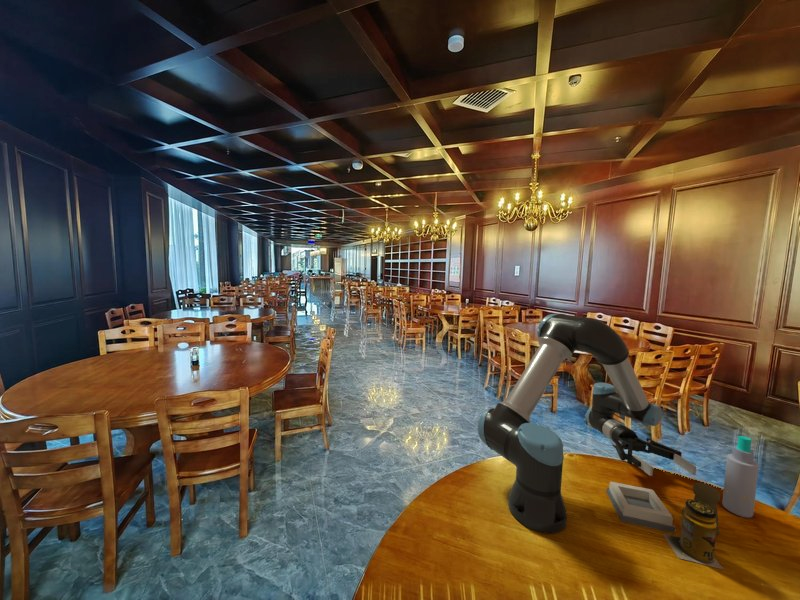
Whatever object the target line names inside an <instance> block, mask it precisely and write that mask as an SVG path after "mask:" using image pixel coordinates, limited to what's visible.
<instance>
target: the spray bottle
mask: <svg viewBox="0 0 800 600" xmlns="http://www.w3.org/2000/svg"><path fill="white" fill-rule="evenodd" d="M736 443H737V445H734V446H733V449H732V453H728V454H727V455H726V462H725V463H726V464H725V472H724V482H723V491H722V502H721V505H722V507H723V508H725V509H726V510H727V511H729V512H730V513H732V514H734V515H737V516H740V517H741V518H748V519H749V518H752V517H754V514H755V501H756V494H757V493H756V492H757V484H758V476H759V468H760V467H759V464H758V462H757V461H755V460H754V458H755V457H754V456H755V453H754V451H753V450H752V438H750V437H748V436H745V435H738V437H737V442H736ZM727 491H729V492H727ZM742 496H744V497H746V498H744V497H742ZM749 499H751V500H749ZM752 500H754V501H752Z"/></svg>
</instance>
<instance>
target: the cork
mask: <svg viewBox="0 0 800 600" xmlns="http://www.w3.org/2000/svg"><path fill="white" fill-rule="evenodd" d="M692 491H693V494H694V497H693V500H697V501H700V502H702V503H705V504H707V505H708V506H710V507H711V508H712V509H713V510H714V511H715V513H716V517H715V519H716V521H715V522H716V524H717V531H716V535H718V534H719V533H720V525H719V515H718V514H719V513H718V505H717V503H719V502H720V500H721V494H720V492H719V491H718V489H717V488H715V487H713V486H711V485H709V484H708V483H703V482H696V483H694V485H693V487H692Z"/></svg>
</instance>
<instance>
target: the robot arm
mask: <svg viewBox="0 0 800 600" xmlns="http://www.w3.org/2000/svg"><path fill="white" fill-rule="evenodd" d="M537 329H538V330H536V331H537V337H538V339H537V342H538V345H539V346H538V348H537V349H536V350H535V352H534V354H533V356H532V357H531V359H530V360H529V362H528V364H527V365H526V367H525V369H524V370H523V372H522V373H521V375H520V377H519V379H518V380H517V381H516V382H515V385H514V386H513V388H512V389H511V391H510V393H509V395H508V396H507V398H505V400H504V401H499V402H498V403H497V404H496V405H495V407H489V408H487V409H485V410H483V412H481V414H480V416H479V419H478V423H477V434H478V437H479V439H480V440H481V442H482V443H483V444H484V445H486V446H487V447H488V448H489V449H490V450H493V451H494V452H496V453H497V454H498V455H499V456H501V457H503V459H506V461H508V462H510V463H511V464H513V465H514V466H515V468H516V469H515V470H516V472H515V481H514V482H513V484H512V487H511V489H510V491H509V492H508V493H509V494H508V498H507V499H508V500H507V501H508V504H507V506H508V509H509V511H510V514H511V515H512V514H513V515H512V516H513V517H514V518H515V520H517V519H518V520H519V521H520V522H521V523H520V522H519V521H518V520H517V521H518V522H519V523H520V524H522V523H523V524H522V525H523V526H524V527H526V526H527V528H528V529H530V530H533V531H535V532H539V533H544V534H557V533H558V532H561V531H563V530H564V529H565V528H566V526H567V517H568V514H567V509H566V504H565V503H564V502H565V501H564V498H563V495H562V482H563V481H562V480H563V478H562V477H563V468H564V467H563V466H564V465H563V464H564V460H565V457H564V455H565V454H564V444H563V441H562V439H561V437H560V436H559V435H558V434H557V433H556V432H555V431H554V430H552V429H550V428H549V427H547V426H544V425H542V424H539V425H538V424H537V423H535V422H532V421H531V419H530V418H531V415H532V414H533V412H534V411H535V409H536V407H537V405H538V403H539V402H540V400H541V399H542V397H543V395H544V394H545V392H546V390H547V388H548V386H549V385H550V383H551V382H552V380H553V379H554V377H555V375H556V373H557V372H558V370H559V369H560V367H561V365H562V363H563V362H564V360H567V359H570V358H572V356H573V355H574V353H575V351H577V352H583V353H587V354H589V355H592V356H593V357H594V358H595V361H597V363H599V364H601V365H602V366H603V368H604V370H605V372H606V374H607V376H608V378H609V380H610V382H611V383H612V384H610V383H607V382H596V383H594V384H593V388H592V393H591V394H592V398H591V399H592V400H591V407H590V408H588V409H587V411H586V412H585V414H584V415H585V420H586V422H587V423H588V424H589V425H590V427H592V428H593V429H595V430H597V432H600V433H601V434H602V435H603V436H605V437H606V438H607V439H609V440H610V442H612V447H613V448H614V449H615V450H616V453H617V455H618V457H619V459H620V460H621V461H623V462H625V461H626V463H627V464H628V465H632V464H633V465H635V467H638V468H639V469H641V470H642V471H643V472H644V473H645V474H647V475H648V476H650V477H653V475H654V466H652V465H651V464H649V463H648V462H647V461H645V460H643V459H642V458H641V457H639V455H637V454H633V452H644V453H647V454H654V455H656V456H659V457H662V458H665V459H667V460H671V461H673V463H674V464H675V465H677V466H679V467H680V468H682V469H683V470H685V471H686V472H688V473H690V474H691V475H692V476H696V475H697V474H696V473H697V466H696V465H695V464H693V463H691V462H690V461H689V460H686V458H684V457H682V456H683V455H682V451H680V450H678V449H675V448H672V447H670V446H667V445H665V444H662V443H659V442H658V441H654V439H651V438H648V437H647V438H646V440H644V439H642V438H639V437H638V435H637V433H636V432H635V430H633V429H631V428H629V427H628V426H626V425H624V424H623V423H621V422H620V421H618V420H617V419H615V418H614V417H615V416H614V415H615V414H618V415H620V416H624V417H627V418H629V419H631V420H634V421H637V422H640V423H642V424H645V425H648V426H651V427H656V426H658V425H659V424H660V422H661V420H662V418H663V411H662V408H661V407H660V406H659V405H658V404H654V403H653V402H649V400H648V397H647V395H646V393H645V391H644V389H643V387H642V385H641V383H640V381H639V378H638V376H637V374H636V372H635V369H634V368H633V366H632V363H631V361H630V359H629V356H630V350H629V348H628V347H627V344H626V343H625V341H624V339H623V338H622V337H621V336H620V334H618V332H616V331H615V329H613V327H611V326H610V325H608V324H607V323H605V322H604V321H602V320H599V319H597V318H593V317H587V316H586V317H585V316H576V315H567V314H565V313H552V314H548V315H546V316H544V317H543V318H542V319H541V320H540V322H539V324H538V326H537ZM625 450H627V453H626V452H625Z"/></svg>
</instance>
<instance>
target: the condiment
mask: <svg viewBox="0 0 800 600" xmlns="http://www.w3.org/2000/svg"><path fill="white" fill-rule="evenodd" d="M681 512H682V513H681V522H680V533H679V535H680V536H675V535H671V534H667V533H663V532H662V535H663V537H664V538H665V540H666V541H667V544H668V545H669V547H670V548H671V549H672V550H673V552H674V554H675V555H676V556H677V558H678V559H682V560H684V561H689V562H693V563H697V564H699V565H700V564H701V565H704V566H709V567H713V568H717V569H724V567H723V566H722V565H721V563H719V562H718V560H717V559H716V558H715V550H716V540H717V539H716V538H717V534H716V531H717V524H716V522H715V521H716V519H715V517H716V513H715V511H714V510H713V509H712V508H711V507H710V506H708V505H707V504H705V503H702V502H700V501H697V500H694V499H692V498H691V499H687V500H686V501H685V505H684V509H682V511H681Z"/></svg>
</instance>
